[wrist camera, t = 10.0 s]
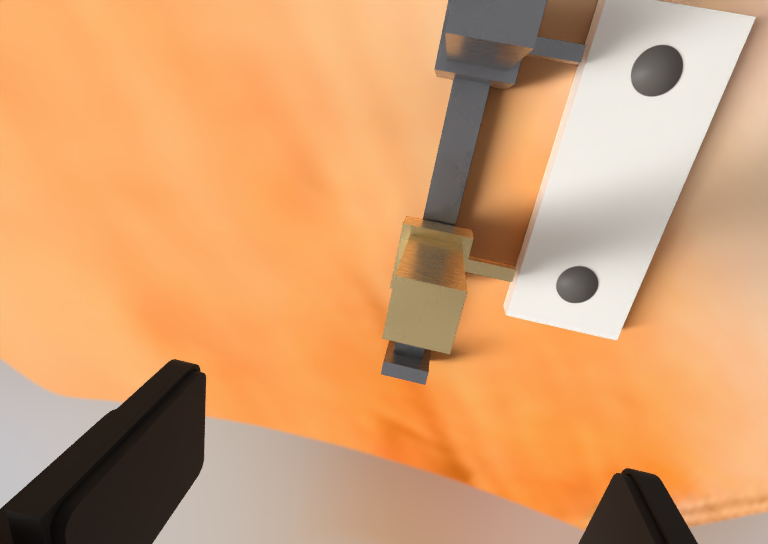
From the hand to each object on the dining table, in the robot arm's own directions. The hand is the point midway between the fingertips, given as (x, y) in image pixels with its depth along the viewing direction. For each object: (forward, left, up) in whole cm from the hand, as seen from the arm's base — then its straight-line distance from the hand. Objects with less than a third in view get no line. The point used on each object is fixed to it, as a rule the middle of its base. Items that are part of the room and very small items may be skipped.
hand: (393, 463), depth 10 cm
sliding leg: (0, +2, -18) cm, 18 cm away
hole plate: (-6, +9, -20) cm, 22 cm away
